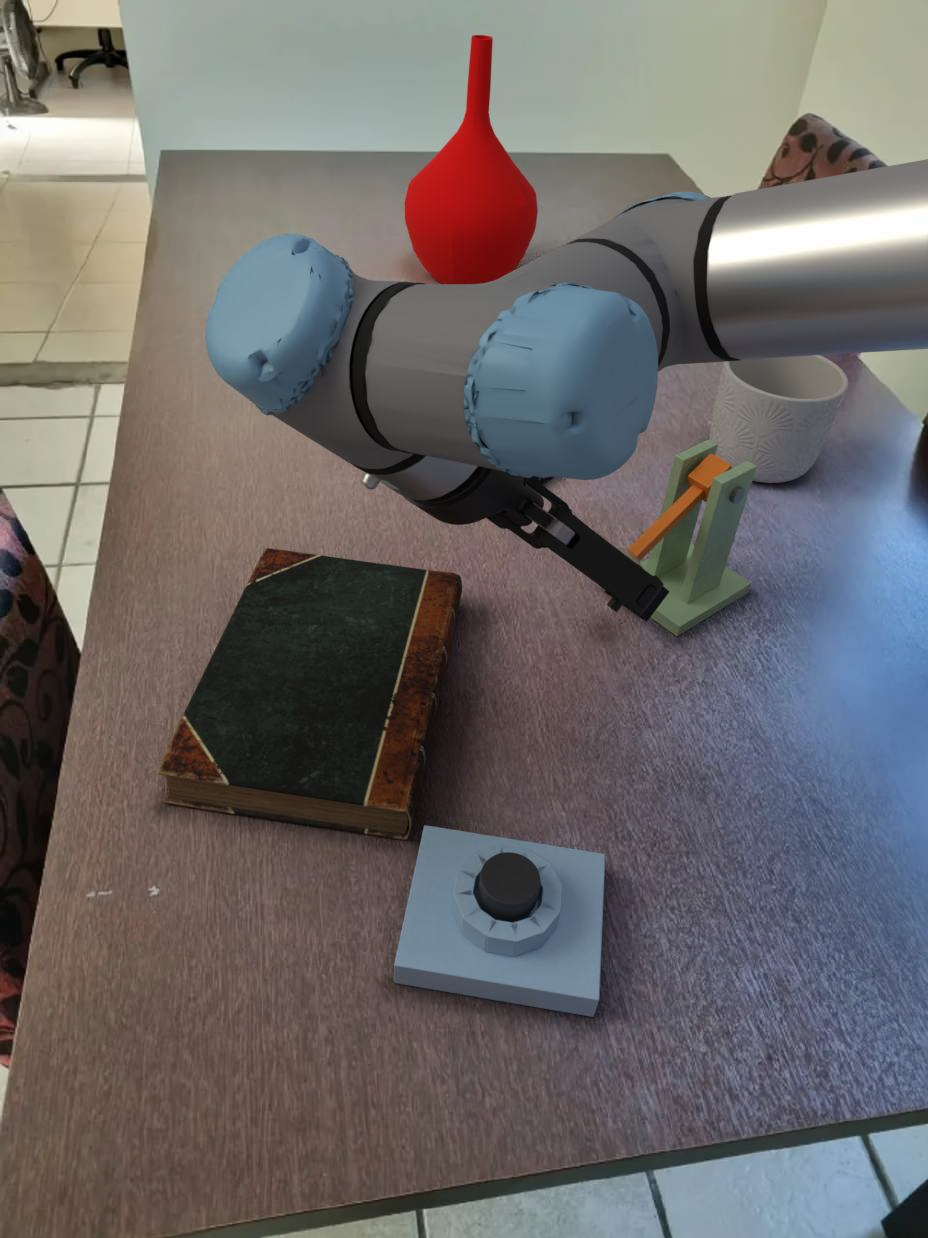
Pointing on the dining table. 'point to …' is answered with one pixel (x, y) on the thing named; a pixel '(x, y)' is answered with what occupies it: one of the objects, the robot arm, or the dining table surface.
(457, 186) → the vase
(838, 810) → the dining table surface
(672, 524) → the switch lever
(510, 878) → the button
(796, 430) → the planter
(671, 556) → the switch bracket
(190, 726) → the book
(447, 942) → the button housing
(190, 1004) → the dining table surface
